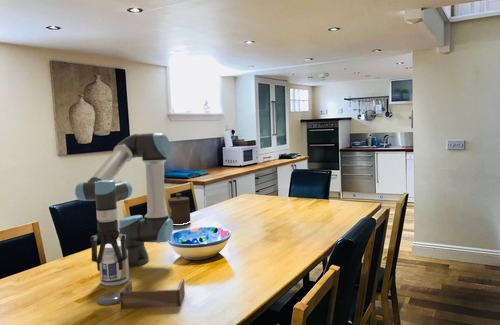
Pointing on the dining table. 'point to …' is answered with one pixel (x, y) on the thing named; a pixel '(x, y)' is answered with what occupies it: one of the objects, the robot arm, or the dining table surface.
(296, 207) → the dining table surface
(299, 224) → the dining table surface
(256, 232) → the dining table surface
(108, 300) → the coaster
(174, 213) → the wooden container
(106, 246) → the supplement tub
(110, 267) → the pill bottle
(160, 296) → the wooden u-shaped bracket
